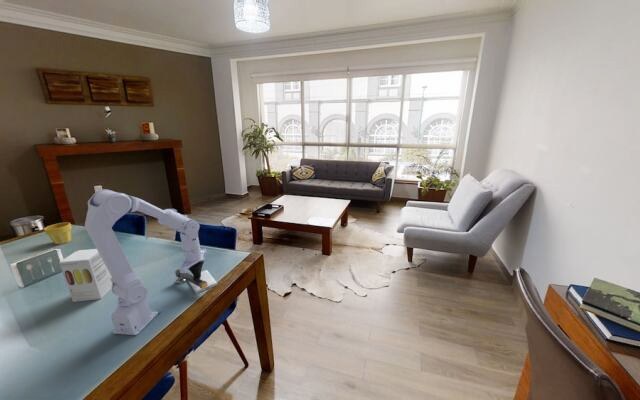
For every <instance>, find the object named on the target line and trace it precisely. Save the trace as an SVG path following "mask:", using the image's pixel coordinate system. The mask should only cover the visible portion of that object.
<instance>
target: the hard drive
mask: <svg viewBox="0 0 640 400" xmlns="http://www.w3.org/2000/svg"><path fill="white" fill-rule="evenodd" d="M191 275H192V276H193V274H191ZM200 279H201V280H203V281H206V282H207V285H208V286H207V287H205V288H204V289H201V288H200V287H199V286H197V285H195V284H193V283H191V282H189V281H188V283H189V285H190V286H191V289H193V291H194V293H195V294H196V295H197V294H199V293H201V292H204V291H206V290H208V289H210V288H214V287H215V286H218V282H217V281H216V279H215V278H214V277H213V276H212V274H211V273H210V272H209V271H208V270H207V269H206V270H203V271H202V270H201V278H200Z"/></svg>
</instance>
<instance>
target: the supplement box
mask: <svg viewBox="0 0 640 400" xmlns="http://www.w3.org/2000/svg"><path fill="white" fill-rule="evenodd" d="M58 263H59V266H60V269H61V272H62V274H63V277H64V280H65V282H66V285H67V288H68V291H69V294H70V298H71V299H72V303H76V302H85V301H86V302H87V301H93V300H94V301H95V300H101V299H103V297H104V296H106V294H107V293H109V291H110V290H112V282H111V280H110V279H111V278H112V276H111V275H110V273H109V271H108V269H107V267H106V265H105V264H104V262H103V260H102V258H101V256H100V254H99V252H98V251H97V249H96V248H90V249H79V250H76V251H74V252H72V253H71V254H70V255H68V256H66V257H65V258H64V259H62V260H61V261H59V262H58Z"/></svg>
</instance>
